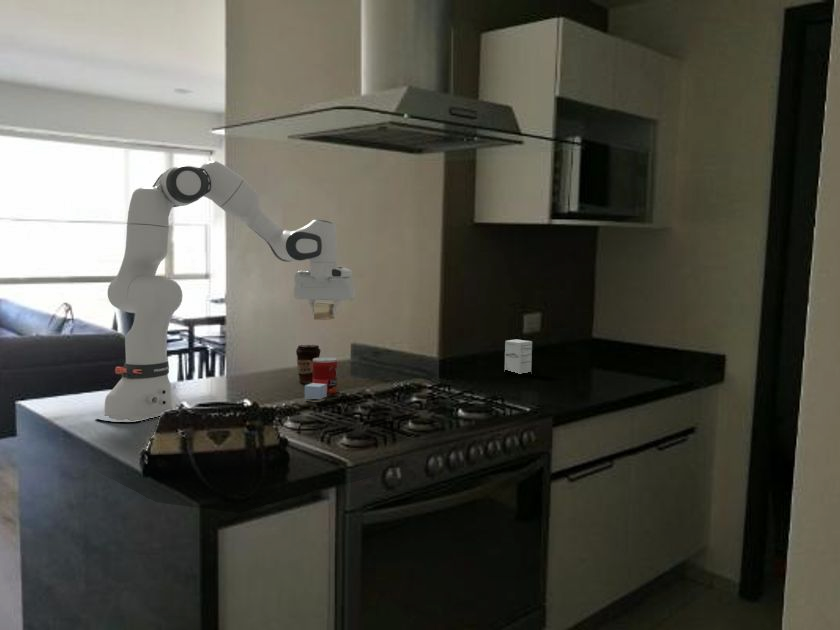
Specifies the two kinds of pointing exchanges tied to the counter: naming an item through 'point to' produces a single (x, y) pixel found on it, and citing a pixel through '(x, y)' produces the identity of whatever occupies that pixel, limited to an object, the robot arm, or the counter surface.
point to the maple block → (323, 311)
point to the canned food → (325, 372)
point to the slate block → (315, 391)
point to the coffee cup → (306, 361)
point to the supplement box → (518, 356)
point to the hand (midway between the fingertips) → (324, 314)
